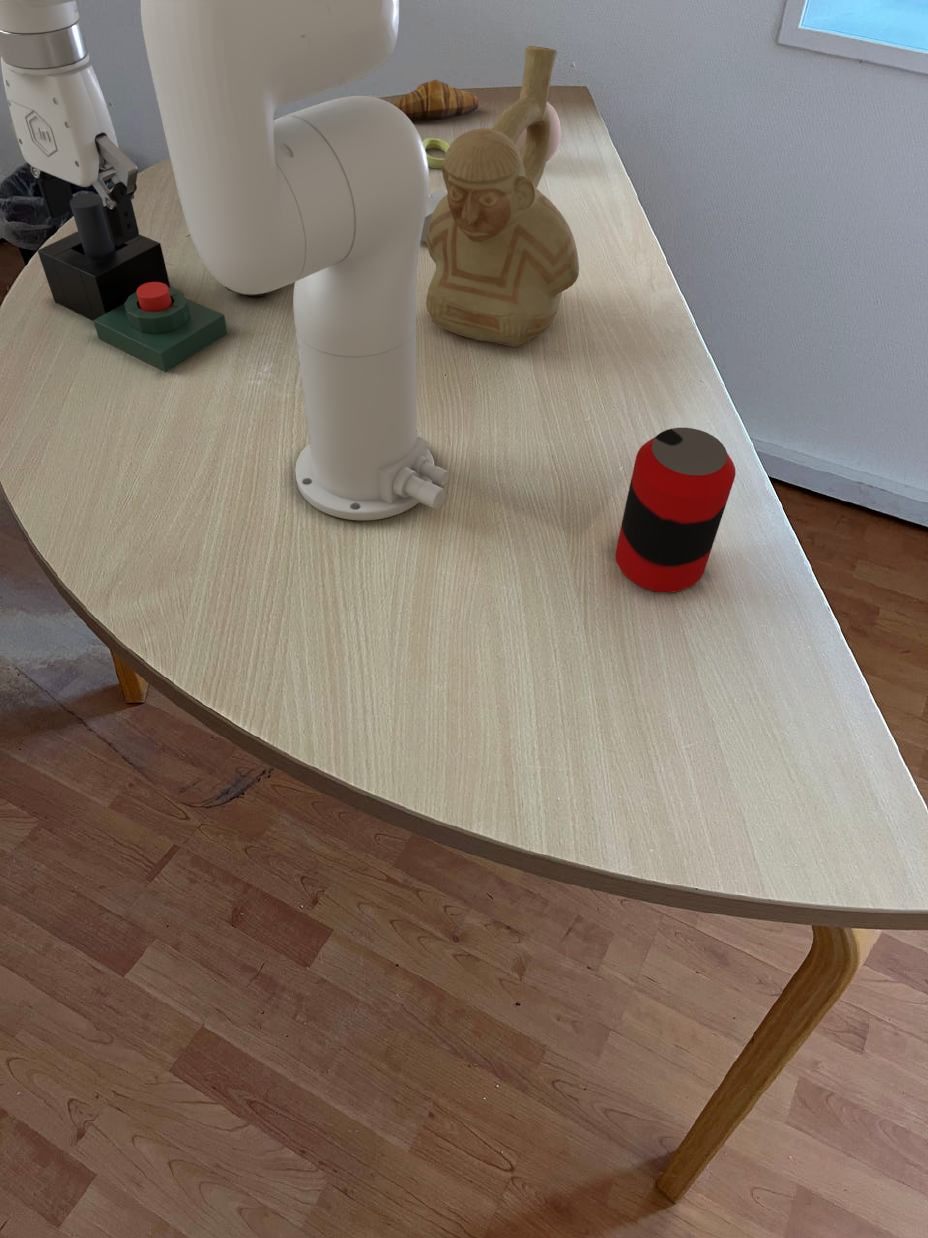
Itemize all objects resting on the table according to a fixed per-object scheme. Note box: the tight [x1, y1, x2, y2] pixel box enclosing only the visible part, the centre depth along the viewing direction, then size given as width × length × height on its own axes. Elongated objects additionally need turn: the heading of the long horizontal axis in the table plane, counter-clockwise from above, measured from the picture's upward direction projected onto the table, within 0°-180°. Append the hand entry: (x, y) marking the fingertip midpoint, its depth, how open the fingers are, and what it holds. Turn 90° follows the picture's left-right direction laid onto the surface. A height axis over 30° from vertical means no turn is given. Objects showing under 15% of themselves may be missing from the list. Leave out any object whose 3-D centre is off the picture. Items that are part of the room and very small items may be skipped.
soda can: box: [614, 427, 736, 593], centre depth 74 cm, size 8×8×12 cm
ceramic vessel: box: [425, 45, 580, 348], centre depth 94 cm, size 17×20×25 cm
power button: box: [136, 282, 172, 312], centre depth 95 cm, size 3×3×2 cm
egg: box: [515, 101, 562, 163], centre depth 126 cm, size 7×7×8 cm
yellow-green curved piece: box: [422, 137, 451, 169], centre depth 128 cm, size 7×12×2 cm, turn 113°
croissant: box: [393, 79, 479, 121], centre depth 137 cm, size 14×7×5 cm, turn 111°
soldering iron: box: [70, 193, 116, 261], centre depth 99 cm, size 3×3×11 cm
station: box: [93, 286, 228, 372], centre depth 97 cm, size 10×9×4 cm
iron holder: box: [37, 230, 171, 322], centre depth 101 cm, size 9×9×6 cm
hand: (94, 226), depth 97 cm, fingers open, 9 cm apart
